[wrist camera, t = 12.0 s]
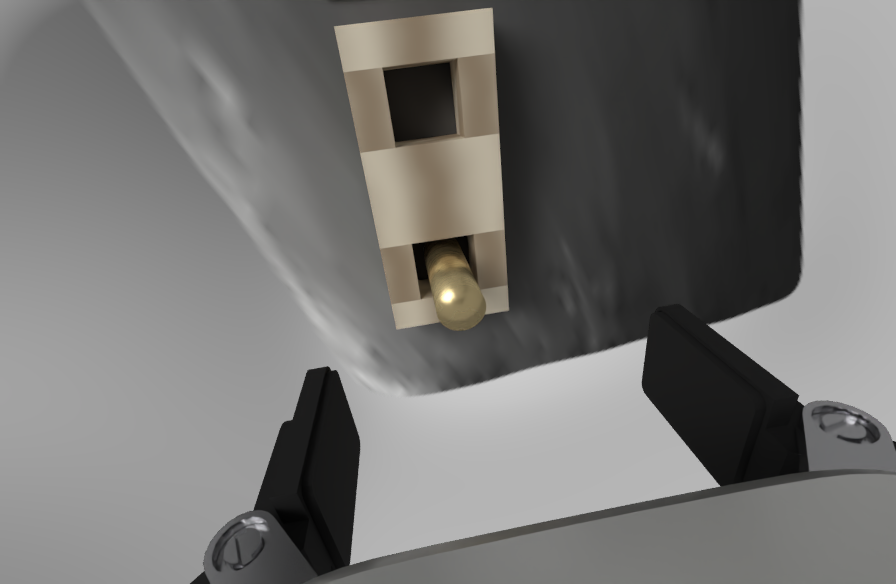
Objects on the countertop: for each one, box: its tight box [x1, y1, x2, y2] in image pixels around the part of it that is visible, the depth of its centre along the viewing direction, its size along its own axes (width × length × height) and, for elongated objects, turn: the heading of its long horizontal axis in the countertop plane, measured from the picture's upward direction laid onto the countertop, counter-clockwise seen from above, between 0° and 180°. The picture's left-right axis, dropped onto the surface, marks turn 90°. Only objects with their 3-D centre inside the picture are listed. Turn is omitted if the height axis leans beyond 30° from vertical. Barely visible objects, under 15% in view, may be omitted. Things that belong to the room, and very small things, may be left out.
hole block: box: [334, 8, 509, 329], centre depth 29 cm, size 9×20×4 cm, turn 7°
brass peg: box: [423, 237, 486, 331], centre depth 28 cm, size 3×3×10 cm
